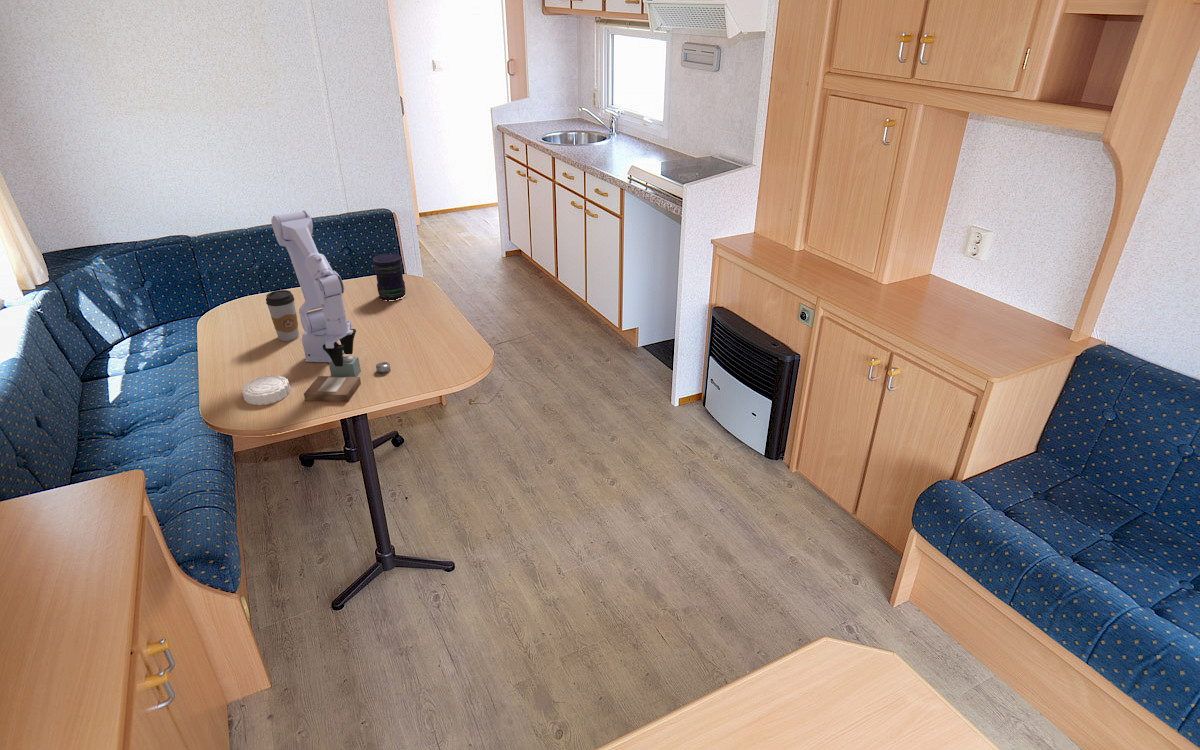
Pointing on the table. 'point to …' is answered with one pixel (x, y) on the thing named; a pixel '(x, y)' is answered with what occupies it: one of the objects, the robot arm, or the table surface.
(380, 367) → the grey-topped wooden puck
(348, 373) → the block
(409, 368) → the table surface
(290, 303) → the coffee cup
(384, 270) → the storage jar
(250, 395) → the mooncake
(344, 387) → the stand
